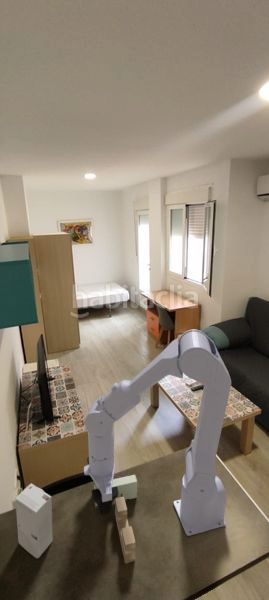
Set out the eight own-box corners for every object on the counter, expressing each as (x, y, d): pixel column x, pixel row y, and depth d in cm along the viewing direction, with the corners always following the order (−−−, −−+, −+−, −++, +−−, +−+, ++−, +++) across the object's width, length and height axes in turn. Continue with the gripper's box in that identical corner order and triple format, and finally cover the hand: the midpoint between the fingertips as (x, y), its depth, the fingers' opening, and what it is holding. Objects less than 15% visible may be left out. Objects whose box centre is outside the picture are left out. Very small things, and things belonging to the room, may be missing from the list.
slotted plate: (134, 490, 73) (135, 474, 72) (136, 497, 71) (137, 481, 70) (94, 499, 71) (94, 483, 69) (95, 507, 69) (95, 490, 67)
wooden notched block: (123, 513, 67) (123, 496, 66) (135, 560, 58) (135, 542, 57) (115, 515, 67) (115, 498, 66) (125, 563, 58) (125, 545, 56)
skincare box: (17, 543, 61) (12, 498, 57) (34, 525, 64) (30, 481, 61) (38, 560, 58) (34, 514, 54) (55, 540, 62) (52, 495, 58)
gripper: (80, 431, 72) (82, 475, 75) (87, 481, 58) (88, 532, 62) (109, 426, 73) (109, 470, 77) (121, 474, 60) (121, 523, 64)
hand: (102, 497), depth 70 cm, fingers open, 7 cm apart
